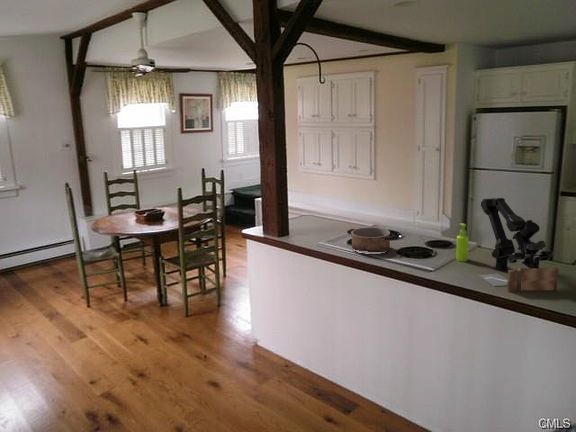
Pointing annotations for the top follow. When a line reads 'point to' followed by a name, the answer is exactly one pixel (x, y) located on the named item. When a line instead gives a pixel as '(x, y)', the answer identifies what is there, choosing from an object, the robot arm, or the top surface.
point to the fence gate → (540, 279)
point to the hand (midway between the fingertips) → (537, 273)
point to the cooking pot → (371, 239)
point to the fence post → (514, 280)
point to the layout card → (495, 279)
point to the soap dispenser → (462, 245)
